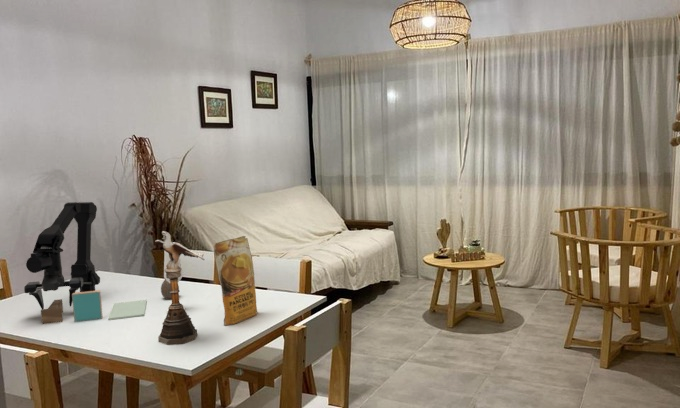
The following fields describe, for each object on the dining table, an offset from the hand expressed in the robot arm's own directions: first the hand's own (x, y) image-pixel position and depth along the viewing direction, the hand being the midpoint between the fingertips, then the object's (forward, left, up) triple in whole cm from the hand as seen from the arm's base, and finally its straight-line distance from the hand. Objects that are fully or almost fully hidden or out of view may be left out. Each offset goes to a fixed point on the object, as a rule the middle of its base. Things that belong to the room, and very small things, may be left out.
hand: (56, 307), depth 205 cm
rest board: (+4, +25, -3) cm, 25 cm away
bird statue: (+41, +44, -3) cm, 60 cm away
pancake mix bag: (+31, +63, -3) cm, 70 cm away
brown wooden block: (+3, 0, -3) cm, 4 cm away
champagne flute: (+11, +42, -3) cm, 44 cm away
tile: (+10, +12, -3) cm, 16 cm away
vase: (-7, +40, -3) cm, 41 cm away
